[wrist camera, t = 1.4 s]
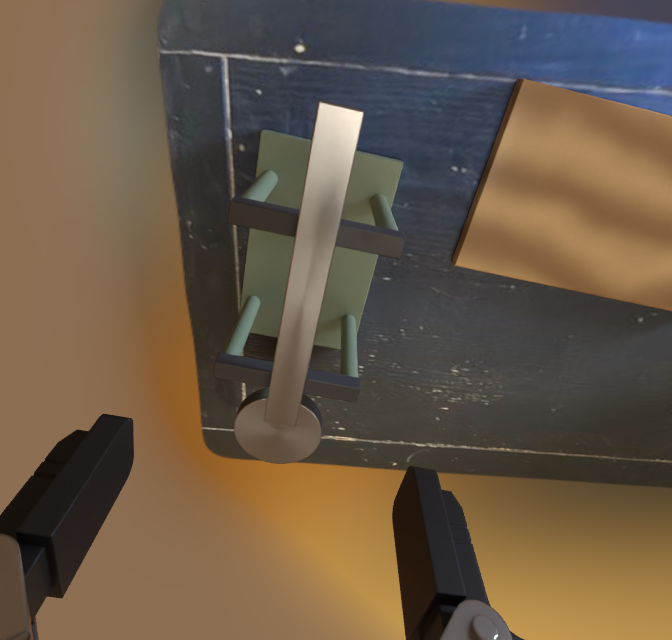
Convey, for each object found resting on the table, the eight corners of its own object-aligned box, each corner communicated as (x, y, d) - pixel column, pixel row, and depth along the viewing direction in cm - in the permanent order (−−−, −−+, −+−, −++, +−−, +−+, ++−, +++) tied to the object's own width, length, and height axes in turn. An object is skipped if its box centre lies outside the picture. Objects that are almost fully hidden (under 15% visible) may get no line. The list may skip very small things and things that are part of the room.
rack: (263, 128, 30) (225, 149, 20) (401, 160, 31) (427, 194, 21) (240, 323, 38) (204, 405, 28) (351, 344, 38) (354, 431, 29)
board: (516, 78, 28) (523, 78, 27) (811, 153, 30) (828, 155, 29) (451, 260, 34) (454, 266, 33) (699, 313, 36) (710, 319, 35)
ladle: (280, 88, 20) (270, 88, 18) (402, 117, 21) (410, 122, 18) (233, 444, 32) (223, 477, 29) (313, 457, 32) (311, 491, 29)
